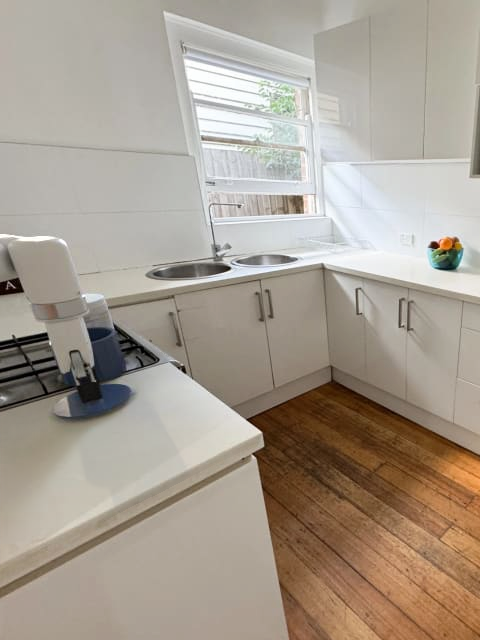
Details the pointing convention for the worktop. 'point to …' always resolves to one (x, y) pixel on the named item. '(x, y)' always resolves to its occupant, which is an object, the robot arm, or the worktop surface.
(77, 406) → the lid
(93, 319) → the supplement tub
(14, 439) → the worktop surface
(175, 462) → the worktop surface
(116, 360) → the tin
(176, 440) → the worktop surface
